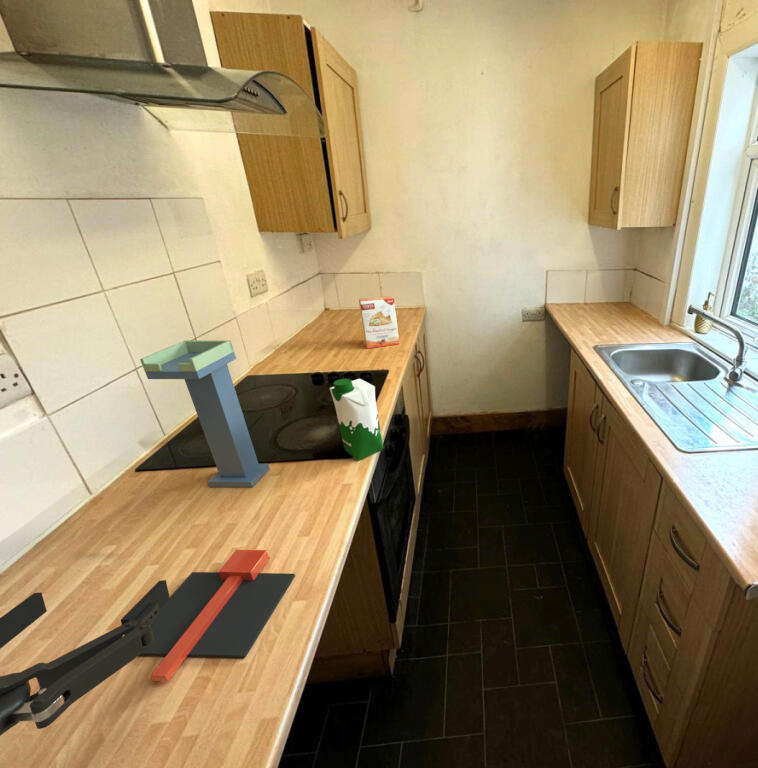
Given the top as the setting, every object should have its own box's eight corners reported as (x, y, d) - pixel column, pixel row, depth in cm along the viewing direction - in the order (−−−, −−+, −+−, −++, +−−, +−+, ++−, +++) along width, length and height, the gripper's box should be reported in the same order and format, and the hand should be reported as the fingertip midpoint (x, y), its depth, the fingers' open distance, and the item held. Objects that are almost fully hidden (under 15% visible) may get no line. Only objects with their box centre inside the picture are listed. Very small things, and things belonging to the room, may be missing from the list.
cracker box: (367, 349, 179) (359, 301, 171) (365, 345, 184) (357, 298, 176) (400, 344, 184) (394, 297, 176) (397, 340, 189) (391, 295, 181)
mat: (121, 655, 59) (119, 652, 59) (193, 574, 72) (192, 571, 72) (245, 658, 58) (243, 655, 58) (295, 576, 71) (294, 573, 71)
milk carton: (339, 451, 107) (324, 379, 98) (371, 437, 113) (359, 369, 104) (356, 464, 101) (341, 390, 93) (389, 449, 107) (377, 378, 99)
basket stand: (196, 499, 90) (139, 359, 77) (229, 468, 100) (184, 340, 87) (241, 499, 90) (192, 358, 76) (270, 469, 100) (230, 340, 87)
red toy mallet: (140, 681, 55) (134, 671, 55) (239, 557, 74) (236, 549, 73) (181, 682, 55) (175, 672, 54) (269, 558, 74) (267, 550, 73)
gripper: (-311, 866, 30) (-6, 634, 51) (81, 800, 34) (218, 609, 54) (-359, 787, 29) (-24, 580, 49) (59, 728, 32) (208, 558, 53)
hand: (104, 595), depth 52 cm, fingers open, 13 cm apart
